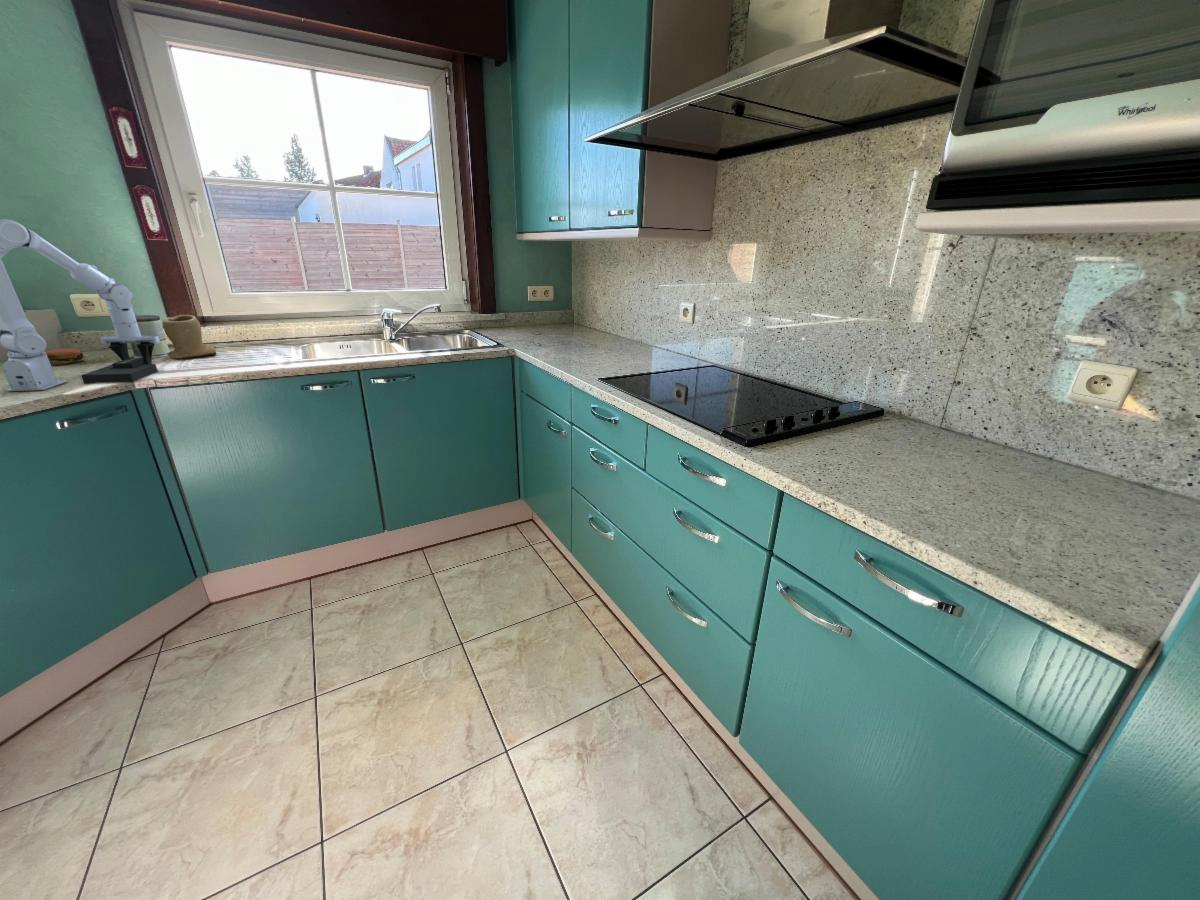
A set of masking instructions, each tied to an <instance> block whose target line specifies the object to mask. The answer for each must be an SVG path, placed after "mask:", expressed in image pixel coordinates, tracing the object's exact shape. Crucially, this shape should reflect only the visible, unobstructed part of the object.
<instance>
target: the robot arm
mask: <svg viewBox="0 0 1200 900" xmlns="http://www.w3.org/2000/svg"><path fill="white" fill-rule="evenodd" d="M16 248H20V249H25V250H31V251H33V252H36V253H38V254H39V255H41V256H43V257H45V258H46V259H48V260H50V261H51V262H53V263H55V264H57V265H59V266H60V267H62V268H64V269H65V270H67V271H68V272H69V275H70V276H71V278H72V279H73V280H75V281H77V282H78V283H80V284H82V285H83V286H85V287H86V288H88V289H90V290H92V291H93V292H94V293H97V295H98V297H99V298H100V299H101V300H104V301H105V305H106V308H107V311H108V314H109V317H110V320H111V322H112V325H113V328H114V329H113V330H114V331H115V336H101V337H100V338H99V339H100V342H101V344H102V345H108V348H109V349H110V350H111V351H112V352H114V353H115V355H117V356H118V357H119V359H120V361H121V360H124V359H127V358H130V357H131V356H130V354H129V349H128V344H131V343H141V344H138V345H137V347H138V348H139V350H140V352H141V354H142V356H143V359H144V362H145V364H153V362H152V361H153V358H152V351H153V348H154V345H155V344H154V343H159V342H160V340H159V337H158V336H141V333H140V330H139V327H138V324H137V321H136V318H135V316H136V315H135V312H134V308H133V306H132V302H131V301H132V300H133V297H134V294H133V292H131V291H130V289H129V288H128V287H127V286H125V285H124V284H121V283H116V280H115V279H114V278H113V277H108V275H106V274H104V273H103V272H101V271H99V270H98V267H97V266H95V264H88V263H84V262H83V263H81V262H78V261H77V260H75V259H73V258H72V257H70V256H69V255H67V254H66V253H64V252H63V251H62V250H60V249H59V248H57V247H56V246H55V245H53V244H52V243H50V242H48V240H46V239H44V238H43V237H41V236H40V235H39V234H37V233H36V232H35V231H33V230H31V229H29V228H28V227H27V228H26V227H25V226H24V225H22V224H21V223H20V222H17V221H16V220H12V219H0V347H1V348H2V349H3V350H5V351H7V357H8V359H7V360H6V361H4V362H3V364H2V372H3V374H4V376H5V378H6V381H7V383H8V386H9V388H8V389H7V392H25V391H26V392H27V391H28V392H29V391H44V390H47V389H50V388H53V387H56V386H59V385H62V384H65V383H67V380H57V376H56V374H55V372H54V369H53V367H52V365H51V364H50V362H49V359H48V357H47V354H46V350H47V342H46V340H45V339H44V337H42V336H41V335H40V334H39V333H38V332H37V330H36V327H35V326H34V325H33V324H32V323H31V322H30V321H29V319H28V318H27V316H26V313H25V311H24V309H23V306H22V303H21V302H20V300H19V297H18V295H17V293H16V291H15V288H14V286H13V283H12V281H11V278H10V276H9V273H8V272H7V269H6V267H5V264H4V262H3V260H2V259H3V257H4V256H6V255H7V254H8V253H9V252H10V251H12V250H15V249H16ZM109 344H110V345H109Z"/></svg>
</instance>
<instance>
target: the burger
mask: <svg viewBox="0 0 1200 900" xmlns="http://www.w3.org/2000/svg"><path fill="white" fill-rule="evenodd" d="M45 352H46V354H47V357H48V359H49V362H50V364H51V366H63V365H69V364H76V363H79V362H81V361H84V358H86V356H84V354H83V352H82V351H81V350H80V349H78V348H75V347H72V348H55V349H50V350H47V351H46V350H45Z"/></svg>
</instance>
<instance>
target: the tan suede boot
mask: <svg viewBox="0 0 1200 900" xmlns="http://www.w3.org/2000/svg"><path fill="white" fill-rule="evenodd" d="M161 324H162V328H163V331H164V334H165V336H166V338H168V340H169V341H170V342H171V344H172V345H173V348H174V349H173V350H171V351H170V352H169V353H168V354H167V355H168V356H167V357H169V358H172V359H186V358H187V359H188V358H196V357H206V356H213V355H216V354H217V347H216V345H215V344H205V343H203V338H202V337H203V336H202V335H203V334H202V325H201V322H200V321H199V320H198V318H197V317H196V316H194V315H191V314H179V315H175V316H173V317H172V316H170V317H169V316H167V317H166V318H164V319H163V320H162V321H161Z"/></svg>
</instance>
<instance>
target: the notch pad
mask: <svg viewBox="0 0 1200 900" xmlns="http://www.w3.org/2000/svg"><path fill="white" fill-rule="evenodd" d="M158 372H159V371H158V368H157V364H156V363H152V364H145V365H142V366H139V367H136V368H124V369H113V366H112V364H110V365H106V366H104V367H101V368H98V369H95V370H92V371H90V372H85V373H83V374H81V376H80V377H81V379H82V382H83V384H104V383H106V384H108V383H133V382H135V381H138V380H141V379H143V378H145V377H148V376H150V375H153V374H155V373H158Z"/></svg>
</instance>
